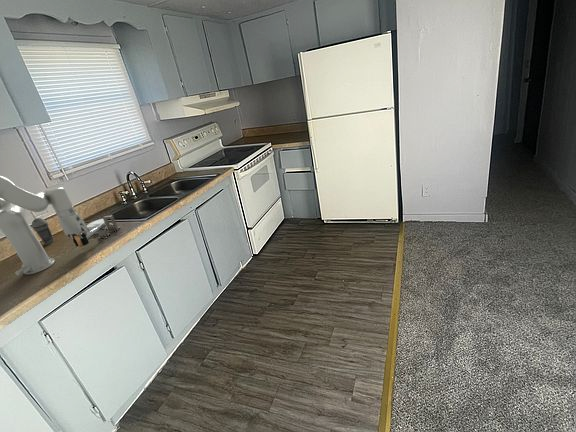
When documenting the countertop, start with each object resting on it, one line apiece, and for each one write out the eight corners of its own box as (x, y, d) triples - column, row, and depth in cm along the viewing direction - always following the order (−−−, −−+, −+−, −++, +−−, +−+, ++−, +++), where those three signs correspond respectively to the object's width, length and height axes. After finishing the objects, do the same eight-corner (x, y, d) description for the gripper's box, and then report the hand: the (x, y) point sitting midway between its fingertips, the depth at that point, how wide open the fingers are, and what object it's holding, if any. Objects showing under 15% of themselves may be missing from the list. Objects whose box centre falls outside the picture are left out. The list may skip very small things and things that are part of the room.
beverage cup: (49, 245, 173) (31, 213, 165) (39, 246, 175) (21, 215, 167) (60, 239, 179) (43, 208, 171) (50, 239, 181) (33, 209, 173)
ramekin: (88, 236, 175) (84, 228, 173) (93, 229, 185) (89, 221, 183) (108, 231, 177) (105, 223, 175) (112, 224, 187) (109, 216, 185)
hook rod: (83, 246, 154) (77, 236, 152) (77, 247, 155) (72, 236, 152) (110, 228, 172) (105, 219, 169) (104, 229, 173) (100, 219, 170)
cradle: (105, 238, 167) (102, 230, 166) (98, 239, 168) (94, 231, 167) (110, 234, 171) (107, 227, 169) (103, 235, 172) (99, 228, 170)
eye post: (115, 231, 174) (108, 217, 170) (107, 232, 175) (100, 218, 172) (120, 227, 178) (114, 214, 175) (112, 228, 180) (106, 214, 176)
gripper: (85, 207, 150) (101, 239, 157) (58, 210, 154) (75, 242, 161) (74, 214, 143) (90, 247, 151) (45, 217, 147) (63, 249, 154)
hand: (82, 244), depth 156 cm, fingers closed on hook rod, 3 cm apart
